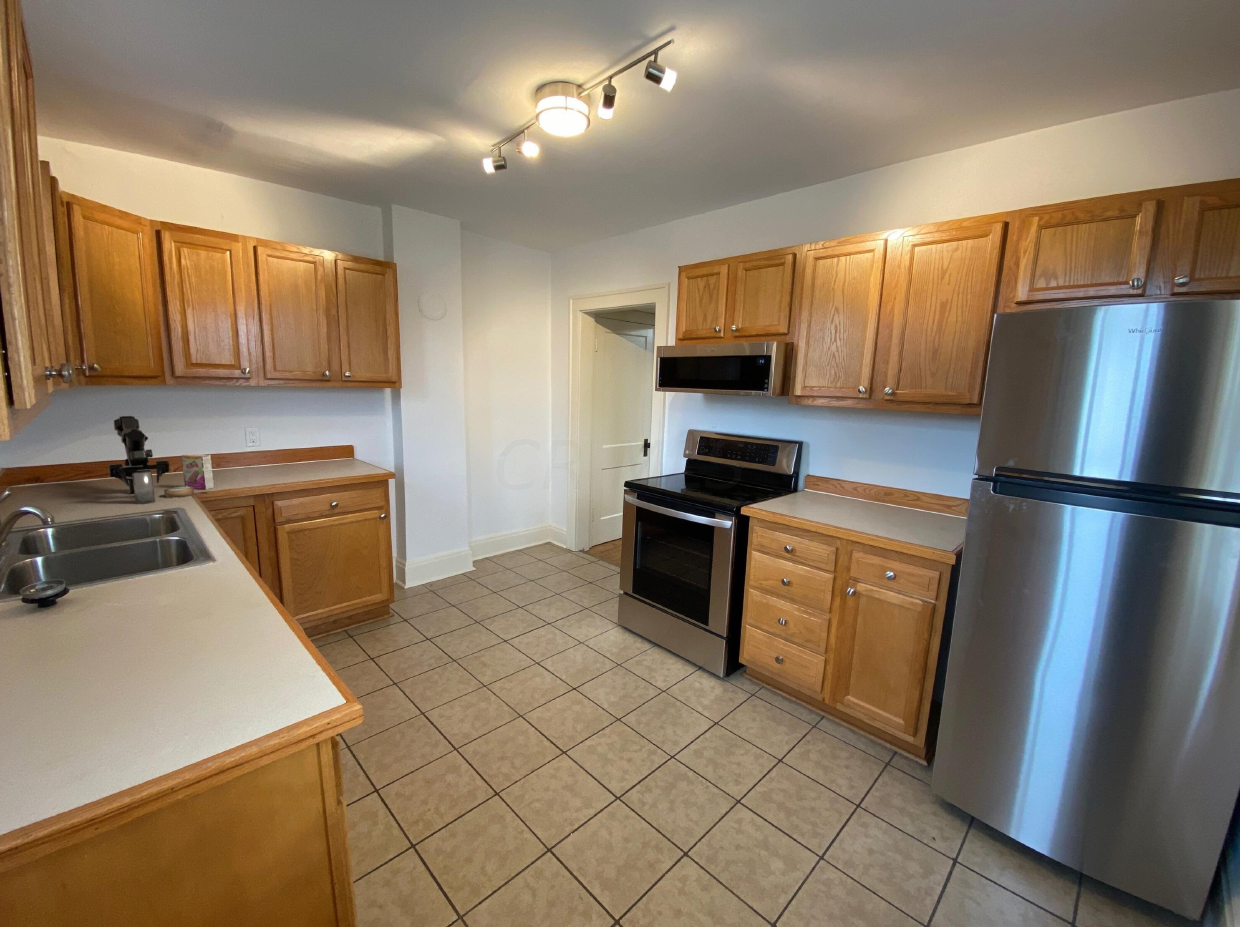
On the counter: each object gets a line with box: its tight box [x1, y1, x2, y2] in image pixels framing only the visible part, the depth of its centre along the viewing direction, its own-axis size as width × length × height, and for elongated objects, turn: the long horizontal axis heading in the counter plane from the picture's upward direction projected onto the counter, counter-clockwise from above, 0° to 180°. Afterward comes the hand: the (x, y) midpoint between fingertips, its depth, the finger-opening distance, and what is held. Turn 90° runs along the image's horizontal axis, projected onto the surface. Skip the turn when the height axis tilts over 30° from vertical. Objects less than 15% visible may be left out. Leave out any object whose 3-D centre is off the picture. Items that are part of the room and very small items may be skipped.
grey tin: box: [132, 470, 156, 505], centre depth 214 cm, size 6×6×13 cm
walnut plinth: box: [163, 486, 195, 498], centre depth 229 cm, size 10×10×3 cm
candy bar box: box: [180, 453, 215, 490], centre depth 242 cm, size 11×5×16 cm, turn 84°
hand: (143, 483), depth 214 cm, fingers open, 9 cm apart
